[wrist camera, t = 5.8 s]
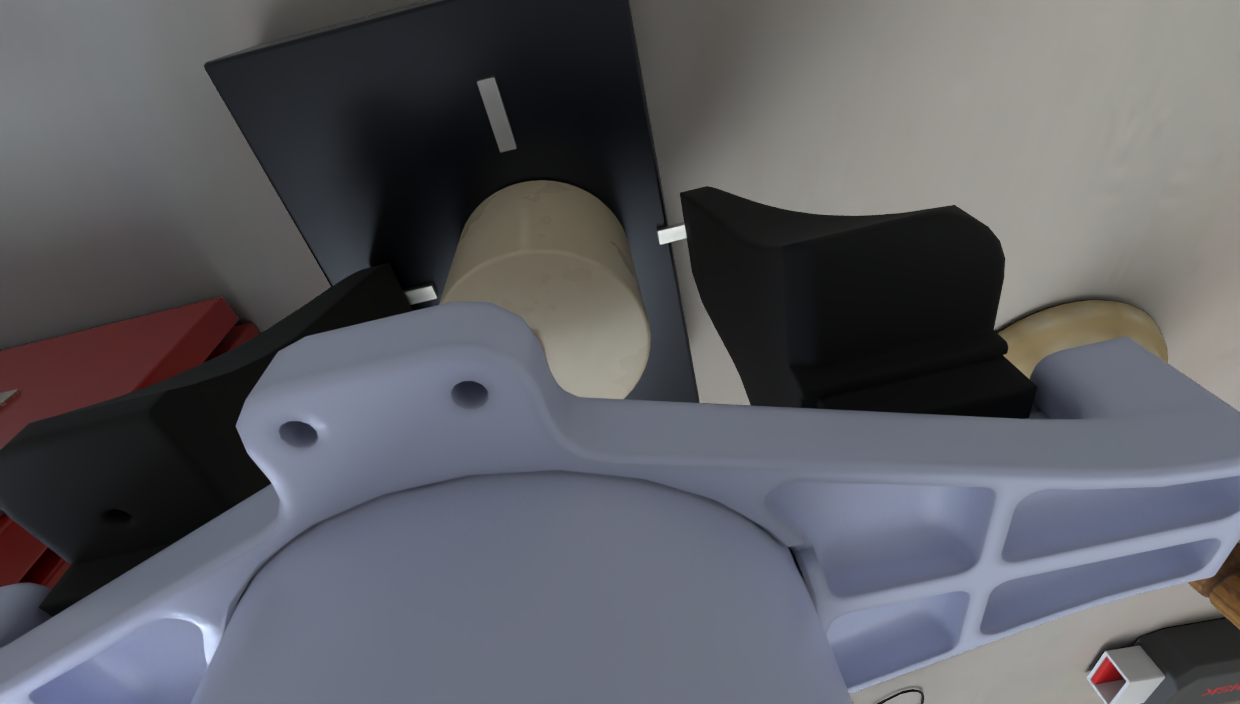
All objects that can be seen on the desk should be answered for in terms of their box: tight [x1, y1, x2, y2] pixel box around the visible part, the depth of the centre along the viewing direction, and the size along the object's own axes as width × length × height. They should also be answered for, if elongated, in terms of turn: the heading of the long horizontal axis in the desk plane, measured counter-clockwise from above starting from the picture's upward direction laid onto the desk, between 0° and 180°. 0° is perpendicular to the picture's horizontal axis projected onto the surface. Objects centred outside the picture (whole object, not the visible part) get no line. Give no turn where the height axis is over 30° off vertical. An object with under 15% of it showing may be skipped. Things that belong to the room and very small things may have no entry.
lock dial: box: [439, 180, 651, 399], centre depth 12 cm, size 4×4×4 cm
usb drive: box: [1087, 618, 1240, 704], centre depth 33 cm, size 5×12×3 cm, turn 98°
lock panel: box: [204, 0, 699, 403], centre depth 15 cm, size 11×9×3 cm
